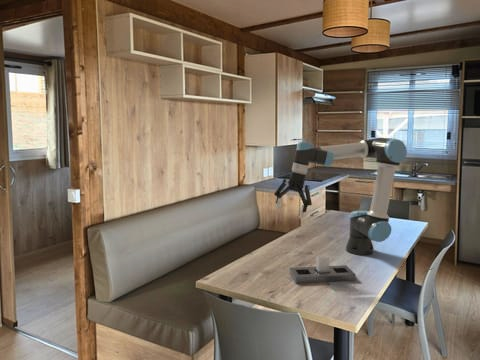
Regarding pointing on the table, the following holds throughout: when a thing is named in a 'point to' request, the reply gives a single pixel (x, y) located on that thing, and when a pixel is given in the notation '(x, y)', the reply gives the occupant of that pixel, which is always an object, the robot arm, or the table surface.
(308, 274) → the grey slotted block
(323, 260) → the steel block
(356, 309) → the table surface
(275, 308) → the table surface
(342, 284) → the slate pad
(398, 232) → the table surface
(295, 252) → the table surface
